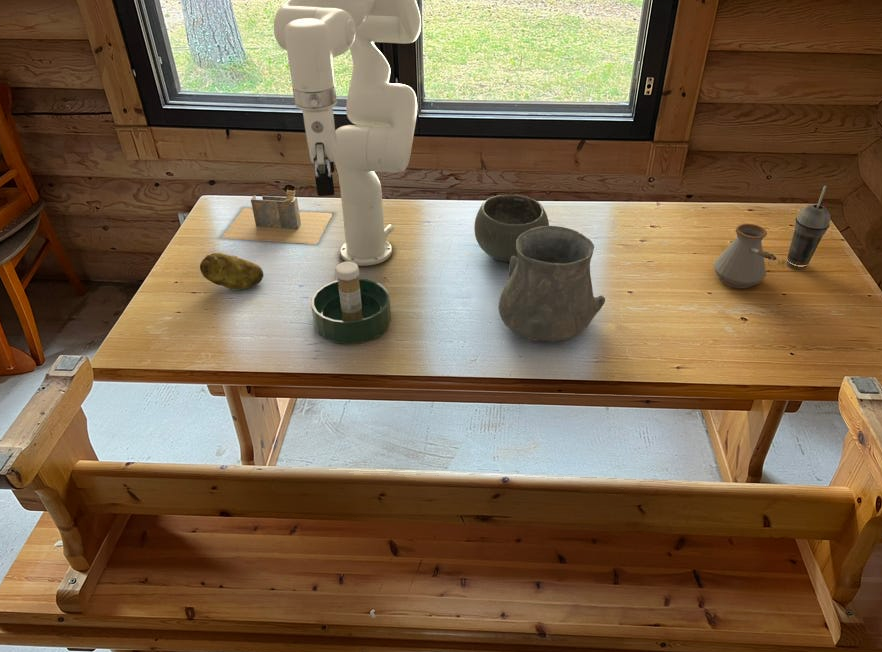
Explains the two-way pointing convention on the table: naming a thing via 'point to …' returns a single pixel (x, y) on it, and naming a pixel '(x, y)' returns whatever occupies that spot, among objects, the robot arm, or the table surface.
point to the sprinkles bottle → (349, 291)
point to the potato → (230, 271)
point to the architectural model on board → (278, 221)
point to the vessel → (550, 285)
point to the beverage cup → (808, 233)
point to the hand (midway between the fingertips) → (326, 183)
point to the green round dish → (355, 331)
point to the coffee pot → (744, 258)
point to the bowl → (506, 223)
